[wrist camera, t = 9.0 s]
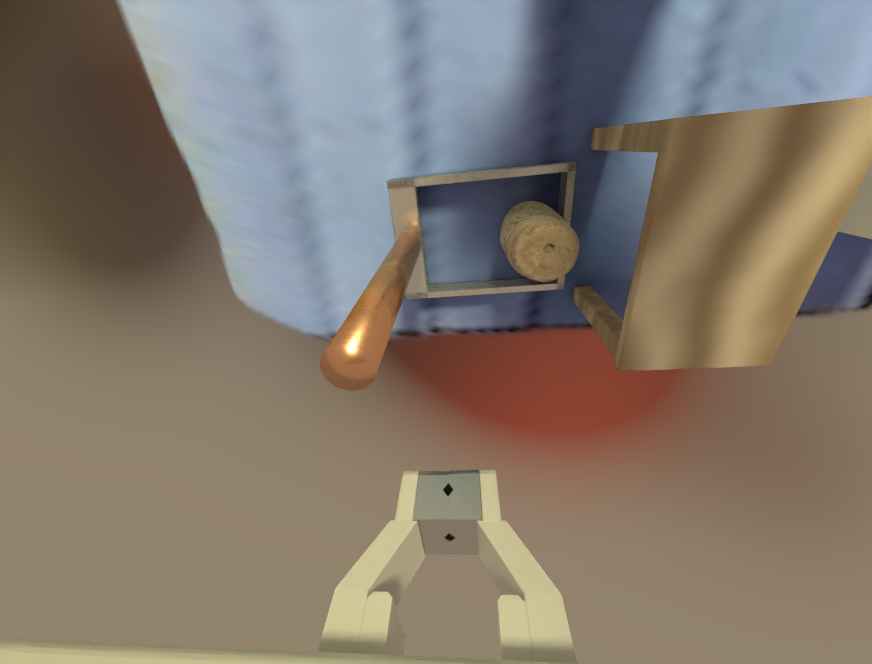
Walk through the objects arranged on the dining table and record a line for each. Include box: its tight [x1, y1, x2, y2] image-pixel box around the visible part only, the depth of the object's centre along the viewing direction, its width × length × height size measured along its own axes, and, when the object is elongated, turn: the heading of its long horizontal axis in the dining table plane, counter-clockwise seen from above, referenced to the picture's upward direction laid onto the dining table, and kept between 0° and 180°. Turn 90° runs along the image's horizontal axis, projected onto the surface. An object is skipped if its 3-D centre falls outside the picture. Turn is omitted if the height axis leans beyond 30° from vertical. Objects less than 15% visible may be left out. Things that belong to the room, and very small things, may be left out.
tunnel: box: [573, 96, 872, 371], centre depth 32 cm, size 13×20×16 cm, turn 5°
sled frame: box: [320, 161, 577, 391], centre depth 29 cm, size 20×14×28 cm
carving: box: [500, 201, 579, 282], centre depth 35 cm, size 6×8×12 cm
